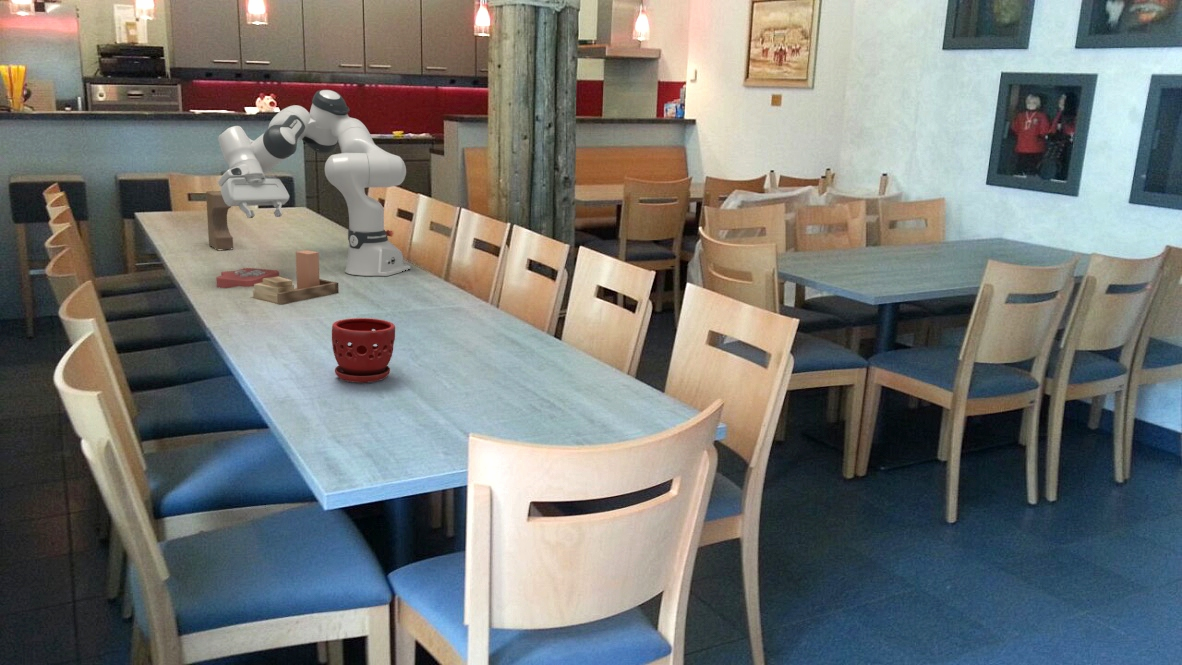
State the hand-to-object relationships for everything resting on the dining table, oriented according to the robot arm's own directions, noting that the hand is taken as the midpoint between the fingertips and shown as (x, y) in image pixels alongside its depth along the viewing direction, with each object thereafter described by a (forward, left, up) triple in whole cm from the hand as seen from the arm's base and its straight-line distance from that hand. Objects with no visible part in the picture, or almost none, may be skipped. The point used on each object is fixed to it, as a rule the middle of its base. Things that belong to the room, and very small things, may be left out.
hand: (265, 216), depth 276 cm
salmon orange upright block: (-1, +17, -20) cm, 27 cm away
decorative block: (-32, -65, -22) cm, 76 cm away
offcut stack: (+10, +16, -20) cm, 28 cm away
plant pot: (+43, +85, -22) cm, 98 cm away
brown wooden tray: (+4, +16, -21) cm, 27 cm away
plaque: (0, -11, -22) cm, 25 cm away
